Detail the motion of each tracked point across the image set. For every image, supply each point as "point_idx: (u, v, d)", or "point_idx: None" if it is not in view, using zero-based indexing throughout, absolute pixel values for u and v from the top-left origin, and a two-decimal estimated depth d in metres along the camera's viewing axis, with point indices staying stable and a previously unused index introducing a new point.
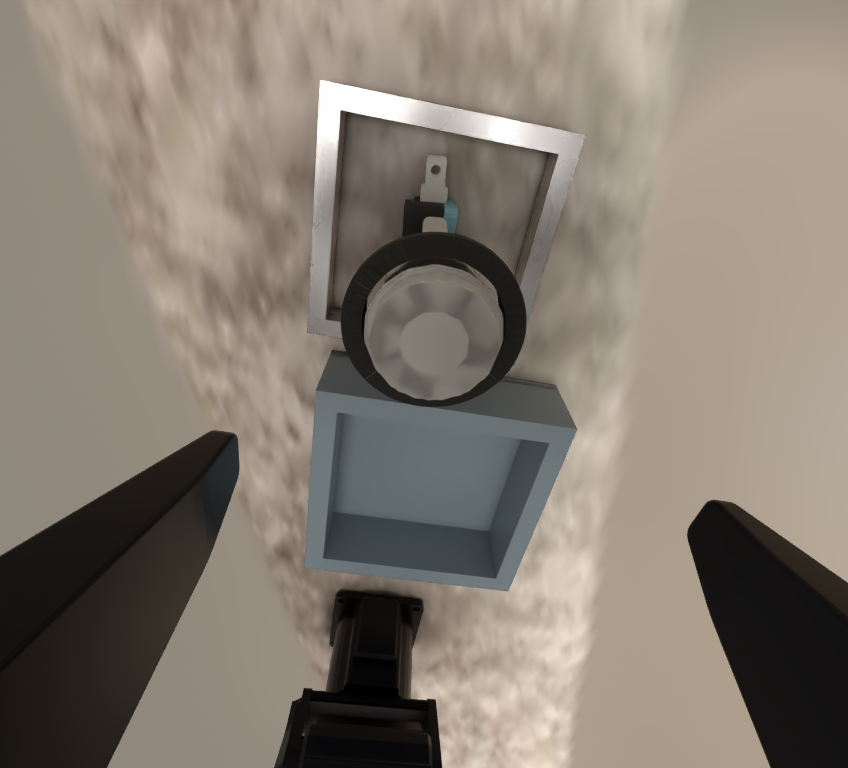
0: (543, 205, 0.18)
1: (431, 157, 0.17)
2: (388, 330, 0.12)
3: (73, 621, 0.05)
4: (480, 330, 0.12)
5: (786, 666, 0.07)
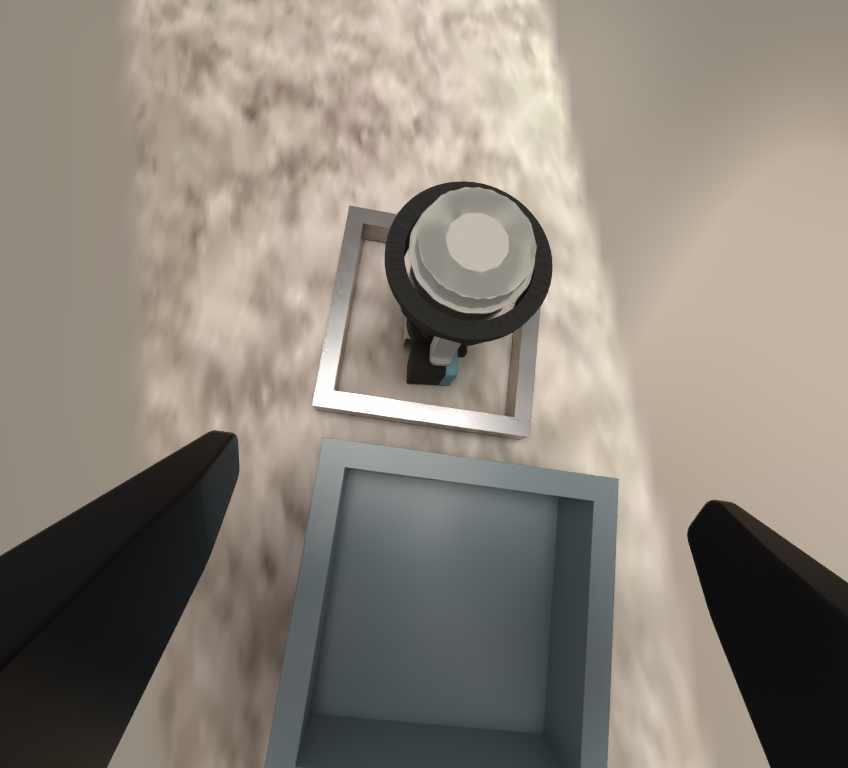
0: None
1: None
2: (436, 227, 0.13)
3: (73, 621, 0.05)
4: (517, 229, 0.13)
5: (786, 665, 0.07)
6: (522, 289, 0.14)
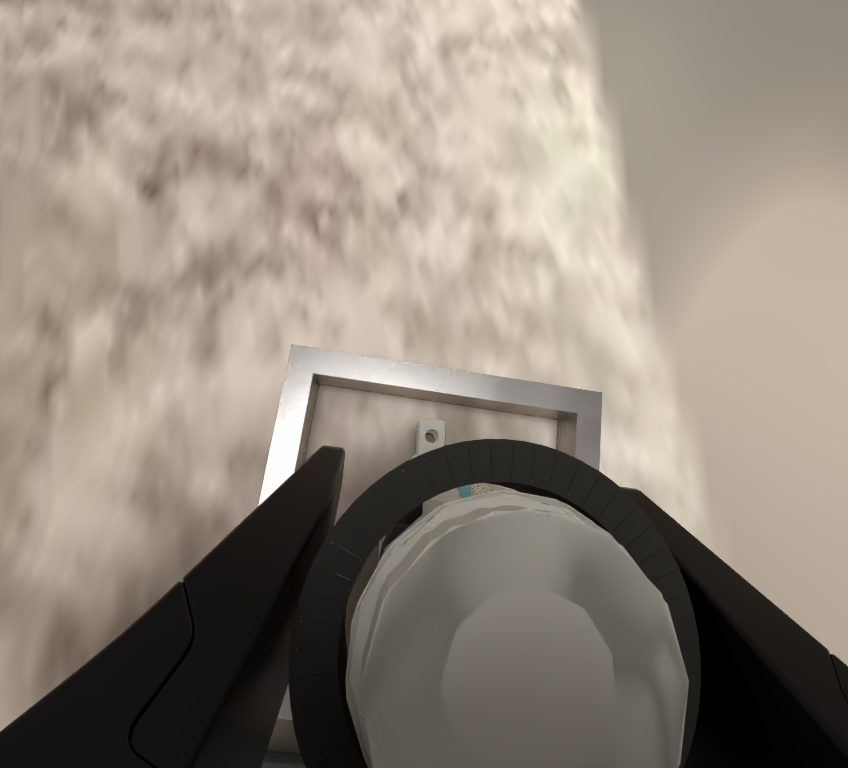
0: None
1: (425, 420, 0.14)
2: (415, 651, 0.05)
3: (264, 641, 0.05)
4: (633, 630, 0.05)
5: None
6: None
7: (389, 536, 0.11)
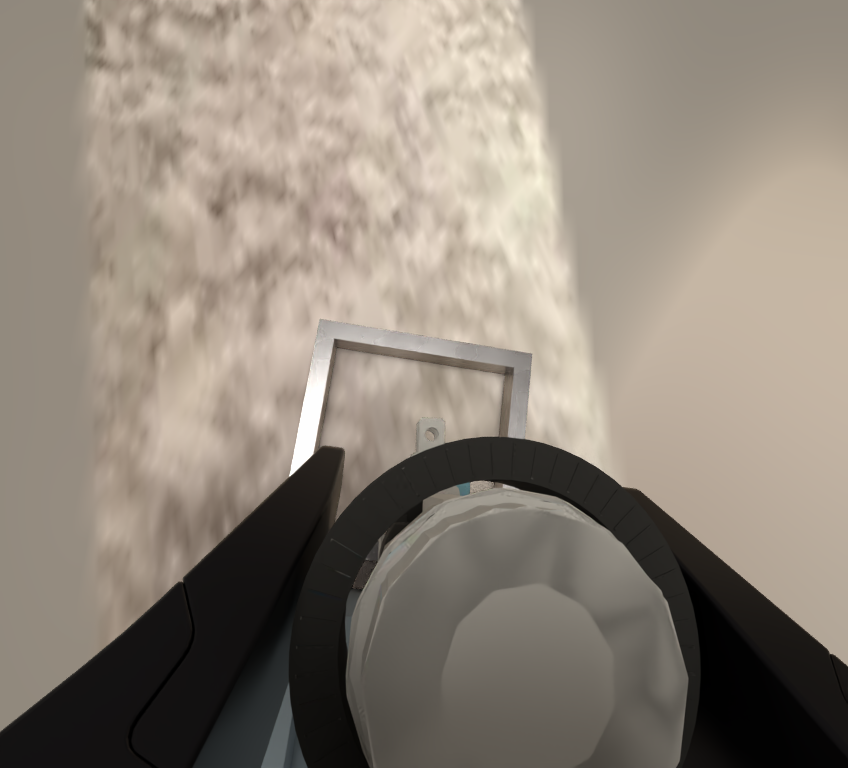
0: (510, 407, 0.21)
1: (425, 418, 0.14)
2: (415, 647, 0.05)
3: (264, 640, 0.05)
4: (633, 627, 0.05)
5: None
6: None
7: (389, 534, 0.11)
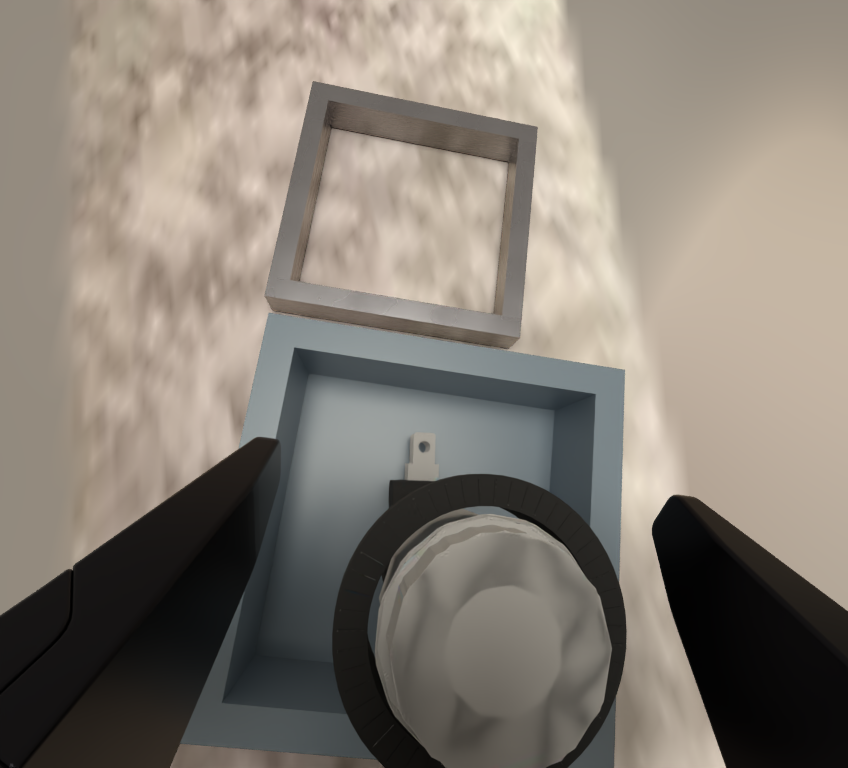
0: (515, 176, 0.20)
1: (418, 433, 0.16)
2: (425, 629, 0.07)
3: (151, 629, 0.05)
4: (575, 614, 0.07)
5: (740, 660, 0.07)
6: None
7: None
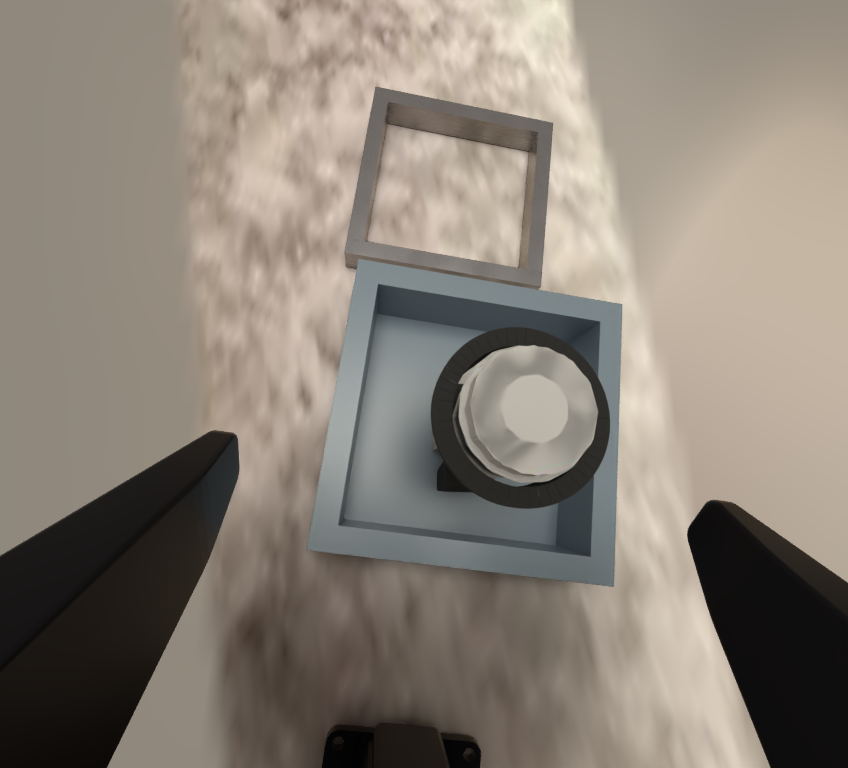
0: (535, 162, 0.25)
1: None
2: (489, 394, 0.12)
3: (73, 621, 0.05)
4: (576, 392, 0.12)
5: (786, 665, 0.07)
6: None
7: None
